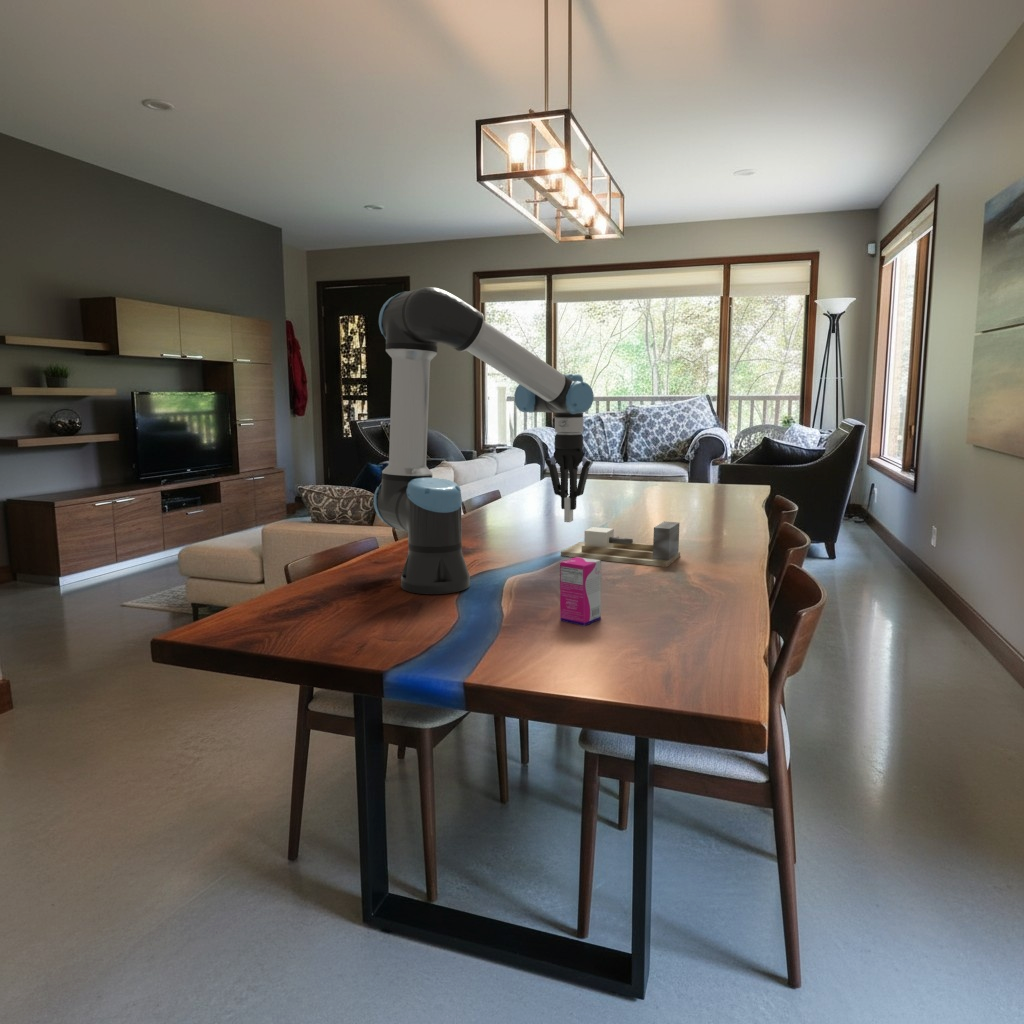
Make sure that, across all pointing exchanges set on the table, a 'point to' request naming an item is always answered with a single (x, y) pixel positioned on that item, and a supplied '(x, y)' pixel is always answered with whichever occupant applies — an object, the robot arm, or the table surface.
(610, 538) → the white block with rods
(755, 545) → the table surface
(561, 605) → the supplement box
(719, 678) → the table surface
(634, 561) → the board
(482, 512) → the table surface
